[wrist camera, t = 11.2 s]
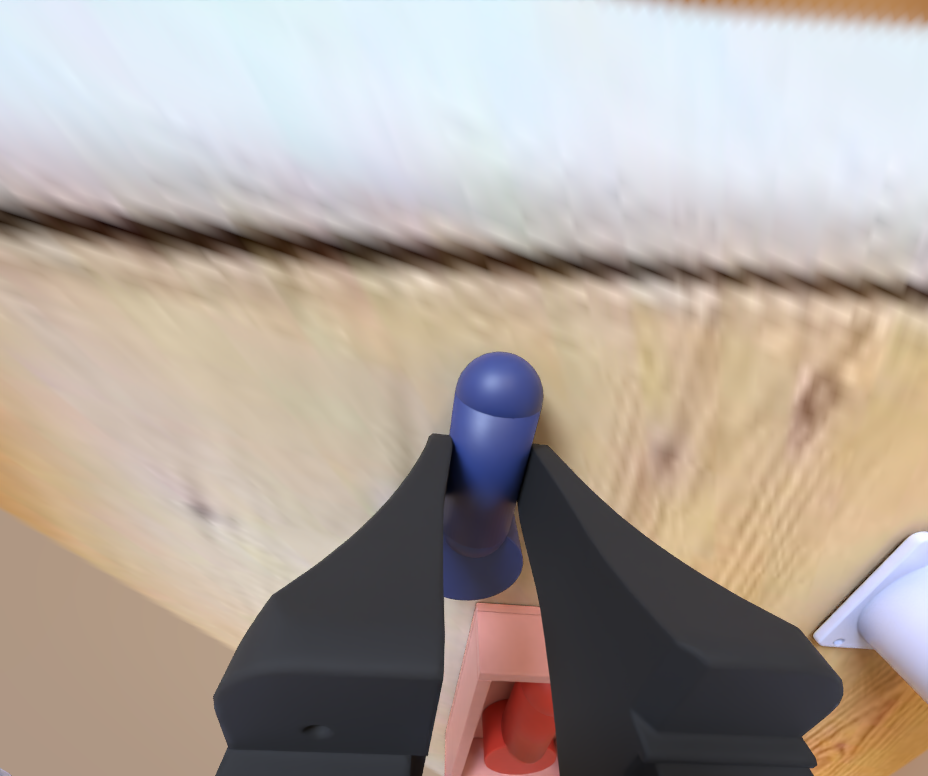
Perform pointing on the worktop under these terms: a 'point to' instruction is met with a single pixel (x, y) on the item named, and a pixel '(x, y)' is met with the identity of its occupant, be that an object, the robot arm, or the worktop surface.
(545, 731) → the red rubber stamp
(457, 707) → the red bin
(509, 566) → the blue handle
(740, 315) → the worktop surface
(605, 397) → the worktop surface
